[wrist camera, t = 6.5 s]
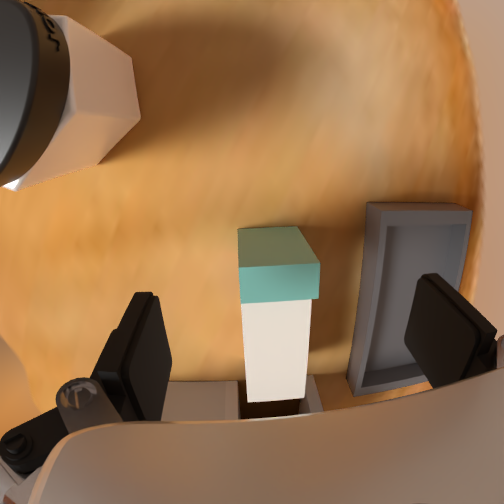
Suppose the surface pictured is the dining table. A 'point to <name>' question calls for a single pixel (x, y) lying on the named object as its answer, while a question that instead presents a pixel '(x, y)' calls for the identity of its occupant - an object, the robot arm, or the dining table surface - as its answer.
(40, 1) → the dining table surface
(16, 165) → the jar
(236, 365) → the dining table surface
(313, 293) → the teal-capped white block
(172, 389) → the bay
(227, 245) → the dining table surface
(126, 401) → the robot arm
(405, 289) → the tray
